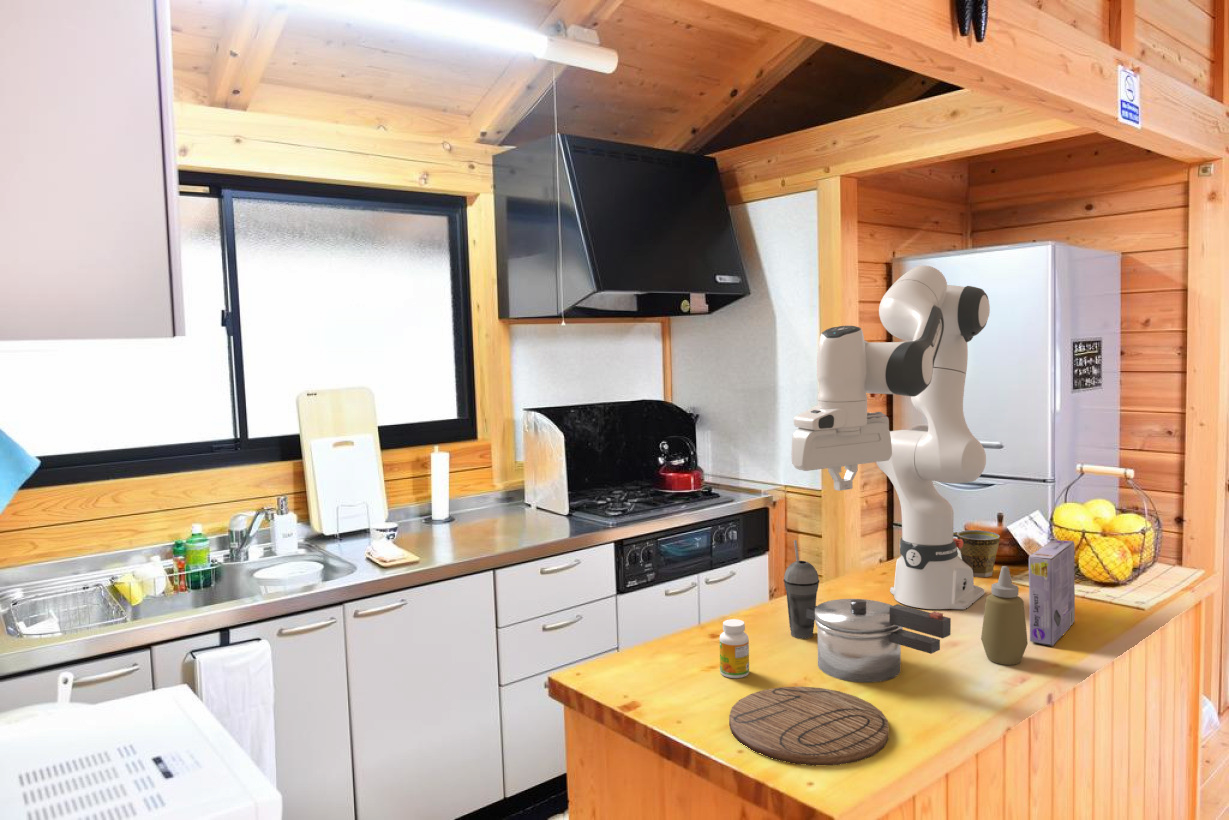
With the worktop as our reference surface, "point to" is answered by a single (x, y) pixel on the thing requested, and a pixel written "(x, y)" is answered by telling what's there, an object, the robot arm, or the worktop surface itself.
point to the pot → (866, 652)
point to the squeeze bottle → (1004, 622)
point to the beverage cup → (801, 595)
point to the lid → (879, 617)
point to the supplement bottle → (734, 649)
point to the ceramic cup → (979, 550)
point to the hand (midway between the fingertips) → (843, 489)
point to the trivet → (809, 725)
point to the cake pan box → (1051, 591)
